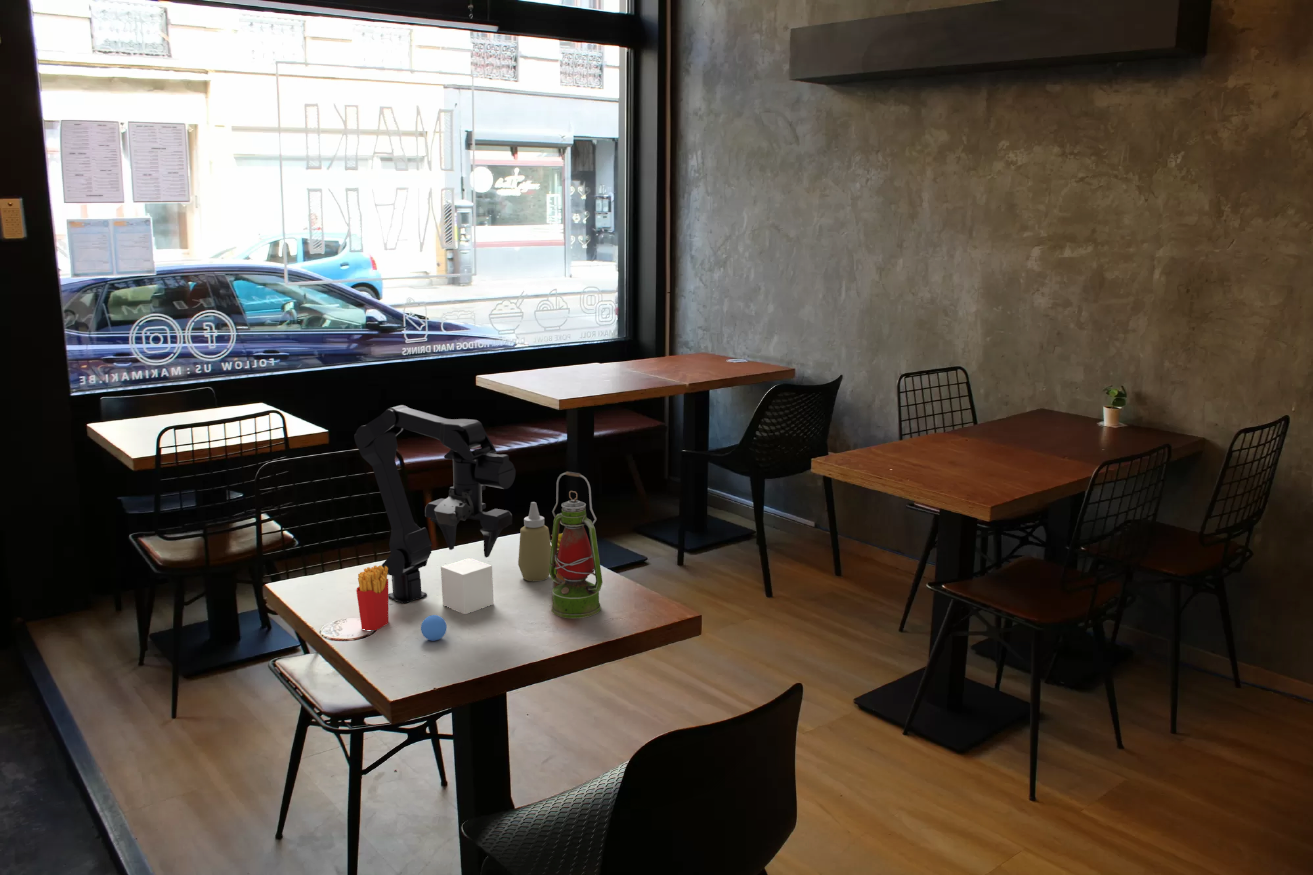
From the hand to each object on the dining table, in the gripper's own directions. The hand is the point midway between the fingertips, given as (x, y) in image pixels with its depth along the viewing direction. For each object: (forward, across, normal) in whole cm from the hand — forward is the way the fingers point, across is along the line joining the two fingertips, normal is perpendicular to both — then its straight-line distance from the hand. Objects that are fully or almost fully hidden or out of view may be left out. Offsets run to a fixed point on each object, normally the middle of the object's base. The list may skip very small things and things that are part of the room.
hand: (469, 553), depth 222 cm
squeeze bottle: (+13, +1, +23) cm, 27 cm away
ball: (+10, +3, -16) cm, 19 cm away
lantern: (+13, +19, +11) cm, 26 cm away
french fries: (+14, -13, -15) cm, 24 cm away
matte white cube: (+13, -2, +3) cm, 13 cm away
